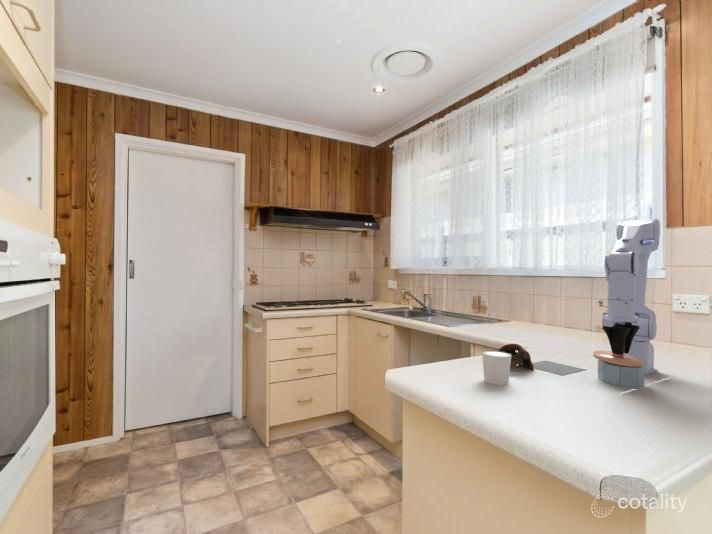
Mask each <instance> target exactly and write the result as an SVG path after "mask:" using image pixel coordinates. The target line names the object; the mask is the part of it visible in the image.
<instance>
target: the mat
mask: <svg viewBox="0 0 712 534" xmlns="http://www.w3.org/2000/svg"><path fill="white" fill-rule="evenodd" d="M532 363H533V366H534V370H539V371H543V372H547V373H550V374H553V375H558V376H567V375H571V374H576V373H580V372H583V371H587V369H585V368H581V367H576V366H571V365H567V364H563V363H559V362H553V361H550V360H541V361H536V362H532Z"/></svg>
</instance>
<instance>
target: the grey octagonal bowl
mask: <svg viewBox="0 0 712 534" xmlns="http://www.w3.org/2000/svg"><path fill="white" fill-rule="evenodd" d="M597 379H598V380H599V381H602V382H603V383H605V384H610V385H613V386H618V387H624V388H625V387H627V388H633V390H638V389H641V388H644V387H645V374H644V366H642V367H628V366H621V365H616V364H611V363H608V362H604V361H601V360H599V359H597Z"/></svg>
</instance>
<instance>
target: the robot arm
mask: <svg viewBox="0 0 712 534" xmlns="http://www.w3.org/2000/svg"><path fill="white" fill-rule="evenodd" d="M615 231H616V239H617V241H616V243H615V245H614V246H613V248H612V251H611V252H609V254H605V256H604V271H605V280H606V281H607V297H606V298H607V301H606V302H607V304H606V305H607V307H606V311H607V313H606V314H604V315H602V316H601V317H602V318H601V326H602V329H603V331H604V332H605V334H606V337H607V339H608V341H609V345H610V350H611V352H612V353H613V354H619V355H623V353H624V354H627V355H630V356H633V357H636V358H639V359H641V360H642V361H643V362H644V363H643V366H644V375H647V374H650V373H655V372H658V370H659V369H657V368H654V367H655V348H654V345H653V344H652V342H651V341H653V340H655V339H656V336H657V315H656V313H655V311H653V310H652V309H651V308H649V307H648V306H646V305H645V304H646V289H647V281H648V280H647V278H648V277H647V276H648V267H649V259H650V257H651V253H652V252H655V251H657V250H659V246H660V236H661V235H660V234H661V222H660V220H659V219H658V218H653V219H652V218H650V219H639V220H625V221H624V220H623V221H622V220H619V221H618V222H617V224H616V230H615ZM624 348H625V350H624Z"/></svg>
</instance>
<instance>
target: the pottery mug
mask: <svg viewBox="0 0 712 534" xmlns="http://www.w3.org/2000/svg"><path fill="white" fill-rule="evenodd" d="M497 351H499V352H505V353H508V354H511V363H510V367H514V366H517V365H518V366H520V367H525V368H530V369H531V370H532V371H534V370H535V369H534V366H533V363H534V362H532V360H531V359H532V357H531V354H530V353H529V352H528V351H527V349H525V348H523V347H522V345H520V344H519V343H508V344H504V345H502V346H501V347H499V348H498V350H497Z"/></svg>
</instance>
